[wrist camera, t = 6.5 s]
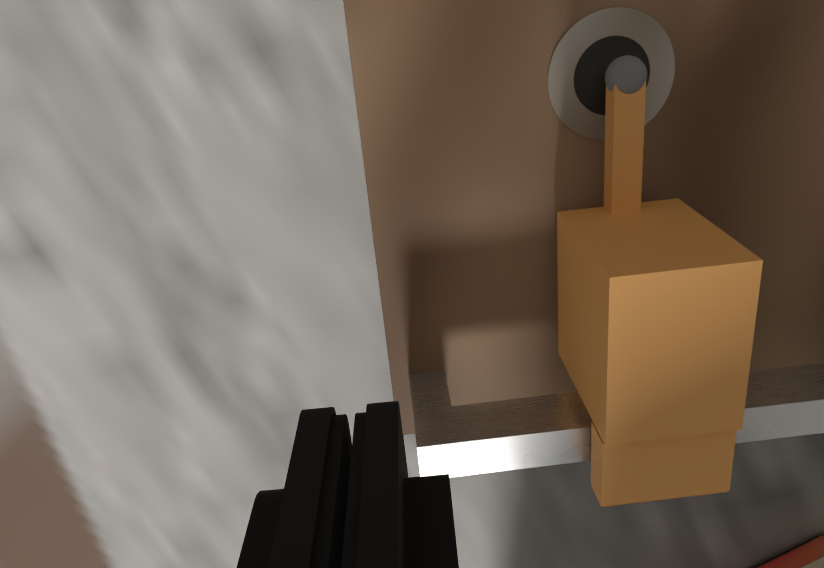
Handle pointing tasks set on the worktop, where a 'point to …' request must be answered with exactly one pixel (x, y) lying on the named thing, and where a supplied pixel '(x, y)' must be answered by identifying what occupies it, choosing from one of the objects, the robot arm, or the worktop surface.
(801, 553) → the cracker box
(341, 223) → the worktop surface
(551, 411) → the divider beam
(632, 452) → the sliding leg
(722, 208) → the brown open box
